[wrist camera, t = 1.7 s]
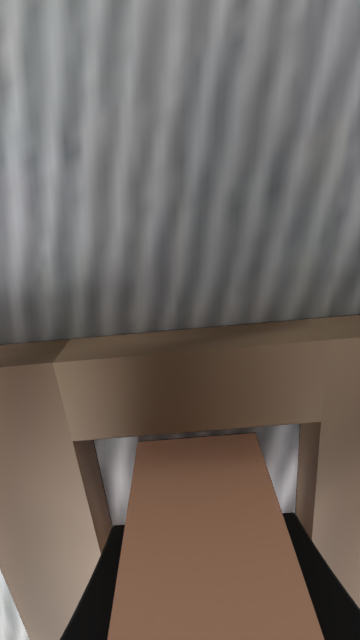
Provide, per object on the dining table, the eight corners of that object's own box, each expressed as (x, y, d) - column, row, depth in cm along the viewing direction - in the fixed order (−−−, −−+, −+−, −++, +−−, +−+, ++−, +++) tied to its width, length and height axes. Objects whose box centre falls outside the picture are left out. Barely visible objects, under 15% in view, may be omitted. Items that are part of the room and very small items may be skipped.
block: (255, 432, 11) (336, 673, 6) (255, 517, 13) (320, 778, 7) (137, 441, 11) (100, 688, 6) (151, 525, 13) (132, 788, 7)
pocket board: (426, 309, 10) (468, 328, 8) (375, 578, 14) (397, 621, 12) (-45, 348, 10) (-82, 374, 8) (46, 600, 14) (32, 645, 13)
